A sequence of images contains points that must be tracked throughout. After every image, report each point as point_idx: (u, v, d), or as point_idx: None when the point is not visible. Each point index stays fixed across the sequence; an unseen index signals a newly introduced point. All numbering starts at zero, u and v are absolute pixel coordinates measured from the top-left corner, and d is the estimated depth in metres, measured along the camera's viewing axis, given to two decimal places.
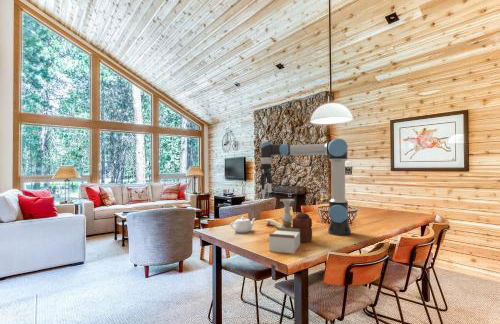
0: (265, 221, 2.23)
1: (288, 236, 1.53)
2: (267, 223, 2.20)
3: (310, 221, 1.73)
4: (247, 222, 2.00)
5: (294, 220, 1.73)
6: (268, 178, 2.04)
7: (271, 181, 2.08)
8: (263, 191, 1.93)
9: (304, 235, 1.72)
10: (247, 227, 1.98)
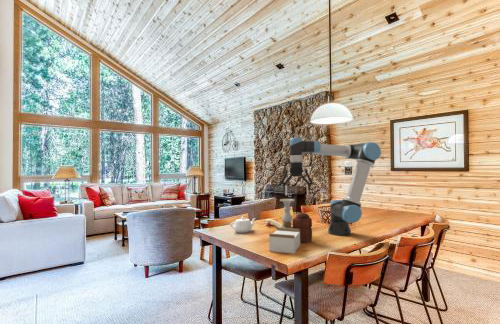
0: (265, 221, 2.23)
1: (288, 236, 1.53)
2: (267, 223, 2.20)
3: (310, 221, 1.73)
4: (247, 222, 2.00)
5: (294, 220, 1.73)
6: (303, 179, 1.77)
7: (310, 183, 1.75)
8: None
9: (304, 235, 1.72)
10: (247, 227, 1.98)
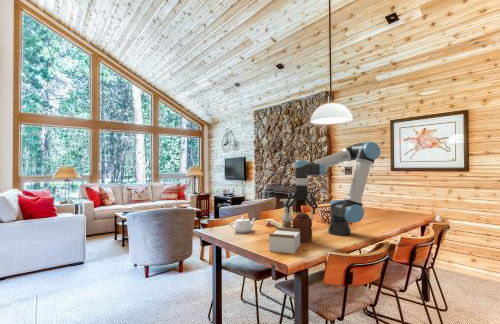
0: (265, 221, 2.23)
1: (288, 236, 1.53)
2: (267, 223, 2.20)
3: (310, 221, 1.73)
4: (247, 222, 2.00)
5: (294, 220, 1.73)
6: None
7: (315, 207, 1.71)
8: None
9: (304, 235, 1.72)
10: (247, 227, 1.98)
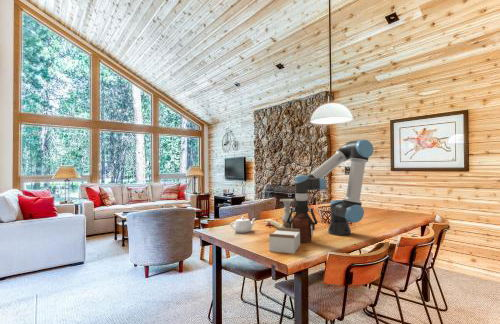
0: (265, 221, 2.23)
1: (288, 236, 1.53)
2: (267, 223, 2.19)
3: None
4: (247, 222, 2.00)
5: (294, 220, 1.73)
6: None
7: (315, 223, 1.71)
8: None
9: (304, 235, 1.72)
10: (247, 227, 1.98)
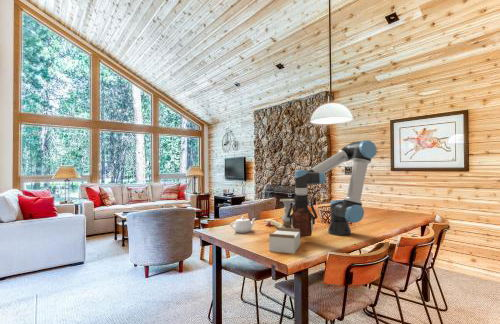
0: (265, 221, 2.23)
1: (288, 236, 1.53)
2: (267, 223, 2.19)
3: None
4: (247, 222, 2.00)
5: (294, 214, 1.73)
6: None
7: (315, 217, 1.71)
8: None
9: (304, 229, 1.72)
10: (247, 227, 1.98)
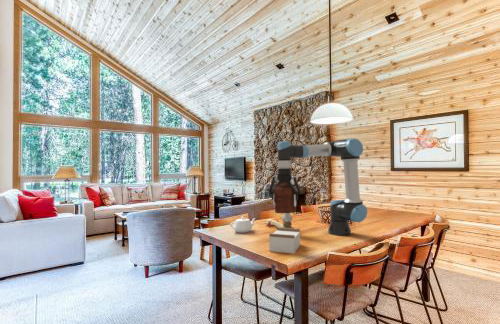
0: (265, 221, 2.23)
1: (288, 236, 1.53)
2: (267, 223, 2.19)
3: None
4: (247, 222, 2.00)
5: (276, 189, 1.61)
6: None
7: (298, 192, 1.59)
8: None
9: (286, 205, 1.60)
10: (247, 227, 1.98)
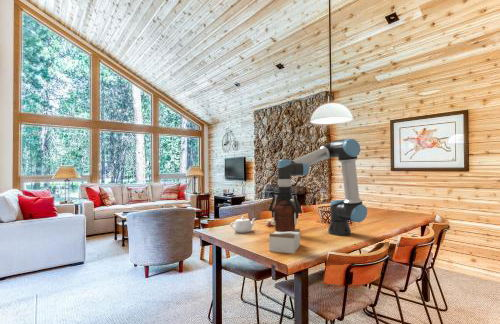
0: (265, 221, 2.22)
1: (288, 236, 1.53)
2: (268, 223, 2.19)
3: None
4: (247, 222, 2.00)
5: (276, 208, 1.60)
6: None
7: (298, 210, 1.59)
8: None
9: (287, 223, 1.59)
10: (247, 227, 1.98)
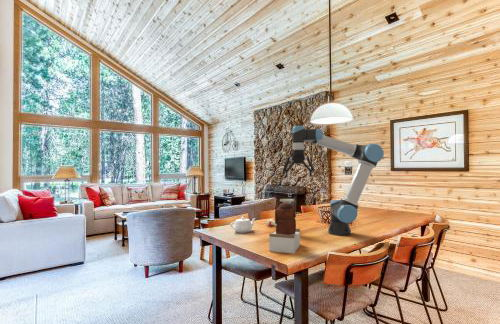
0: (266, 221, 2.22)
1: (288, 236, 1.53)
2: None
3: (294, 212, 1.61)
4: (247, 222, 2.00)
5: (276, 210, 1.60)
6: (305, 166, 1.82)
7: (312, 169, 1.80)
8: None
9: (287, 226, 1.59)
10: (247, 227, 1.98)
